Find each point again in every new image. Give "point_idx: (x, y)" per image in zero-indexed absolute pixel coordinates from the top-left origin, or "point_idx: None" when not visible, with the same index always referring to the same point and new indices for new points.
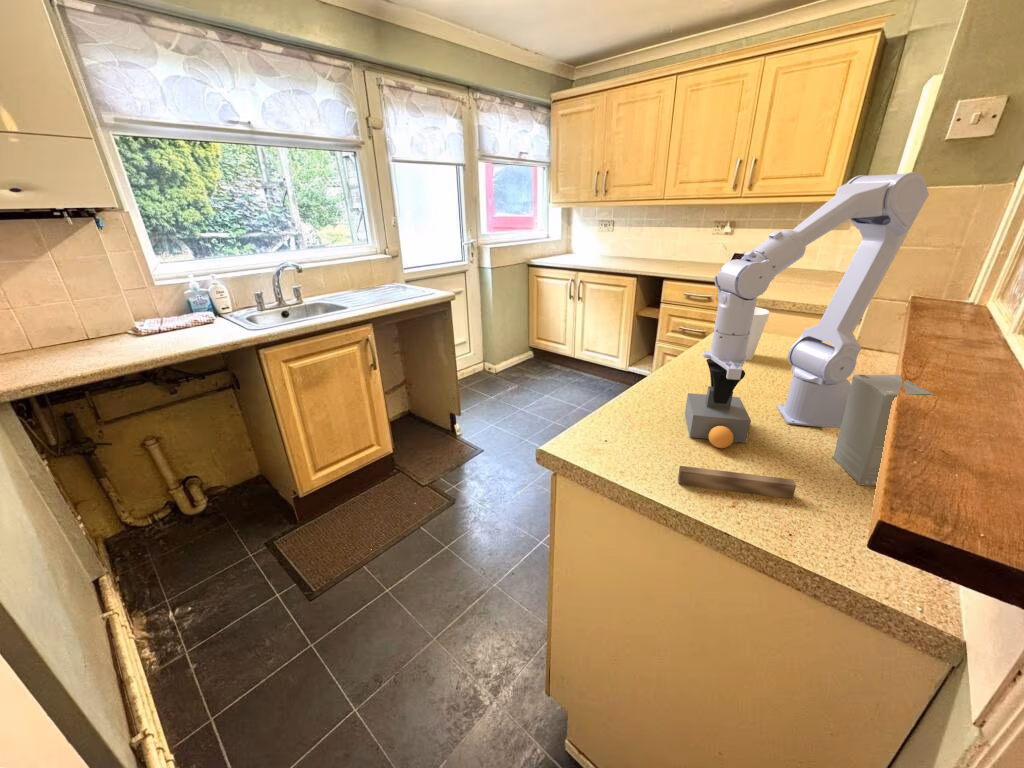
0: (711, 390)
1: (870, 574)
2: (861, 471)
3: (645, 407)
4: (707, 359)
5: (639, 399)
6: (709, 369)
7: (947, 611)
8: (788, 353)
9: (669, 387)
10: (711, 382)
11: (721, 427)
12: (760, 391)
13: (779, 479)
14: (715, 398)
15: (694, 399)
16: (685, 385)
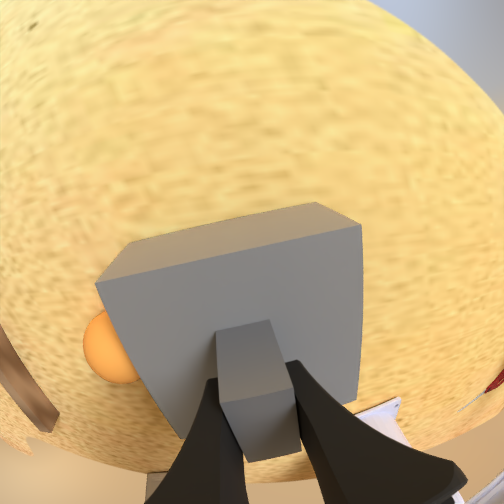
0: (227, 409)
1: (5, 427)
2: (149, 488)
3: (316, 54)
4: (455, 489)
5: (370, 38)
6: (389, 452)
7: (17, 448)
8: (452, 496)
9: (472, 147)
10: (307, 416)
11: (106, 368)
12: (457, 355)
13: (34, 418)
14: (203, 399)
15: (289, 267)
16: (486, 195)
